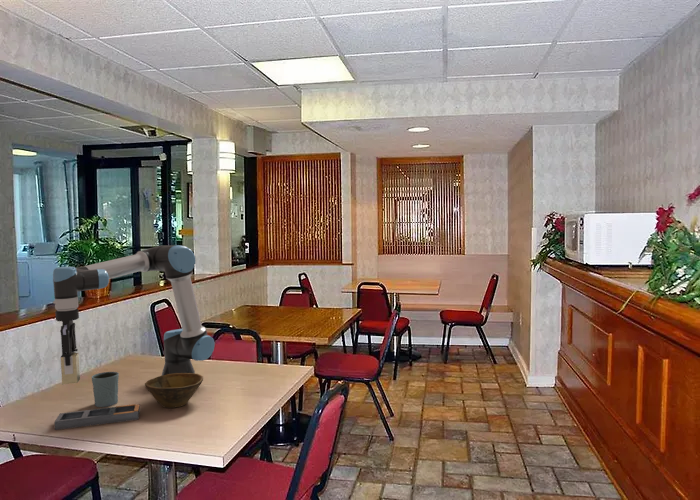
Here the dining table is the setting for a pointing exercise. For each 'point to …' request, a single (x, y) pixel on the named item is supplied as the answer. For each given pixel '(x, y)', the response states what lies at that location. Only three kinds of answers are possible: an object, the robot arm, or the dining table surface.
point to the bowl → (174, 388)
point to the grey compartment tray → (97, 416)
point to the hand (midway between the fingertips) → (70, 371)
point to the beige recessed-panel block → (76, 373)
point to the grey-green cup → (105, 388)
